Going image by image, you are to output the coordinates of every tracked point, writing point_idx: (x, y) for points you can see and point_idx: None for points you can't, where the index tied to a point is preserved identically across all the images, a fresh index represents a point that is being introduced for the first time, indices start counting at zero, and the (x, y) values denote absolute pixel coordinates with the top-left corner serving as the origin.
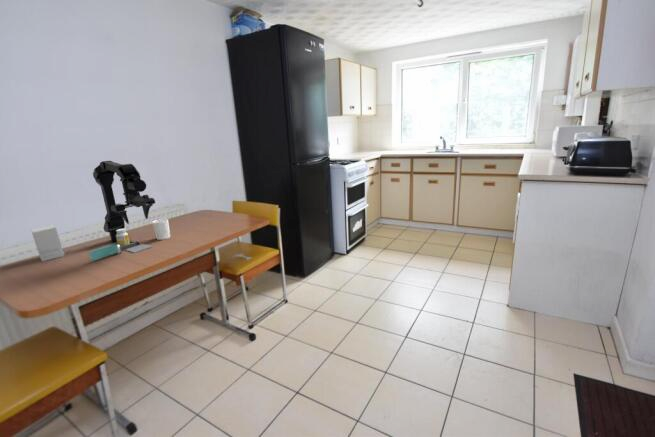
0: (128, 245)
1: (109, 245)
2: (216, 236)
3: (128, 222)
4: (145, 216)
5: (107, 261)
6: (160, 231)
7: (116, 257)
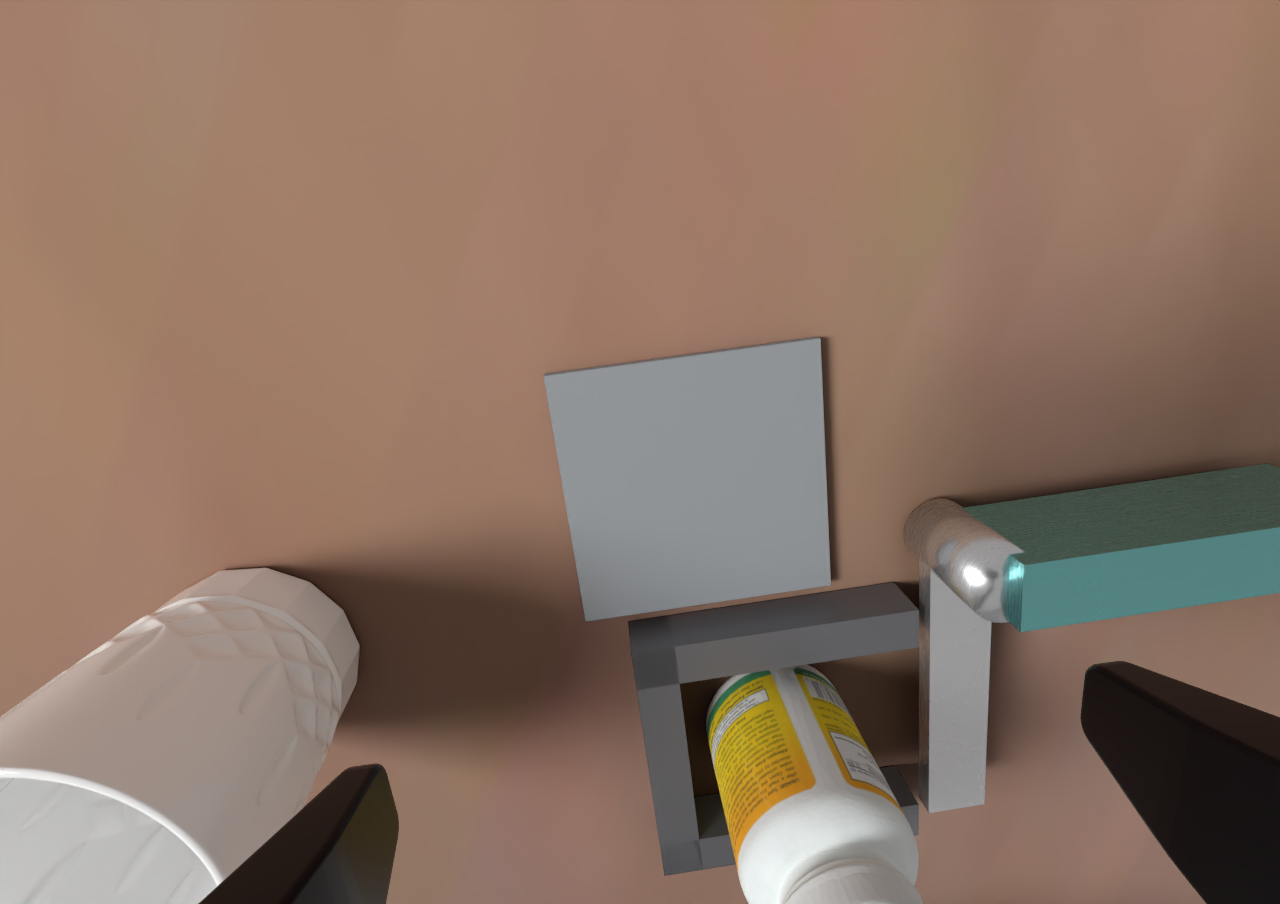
0: (781, 627)
1: (1115, 597)
2: None
3: (1136, 682)
4: (367, 895)
5: (1155, 336)
6: (244, 655)
7: (1023, 391)
